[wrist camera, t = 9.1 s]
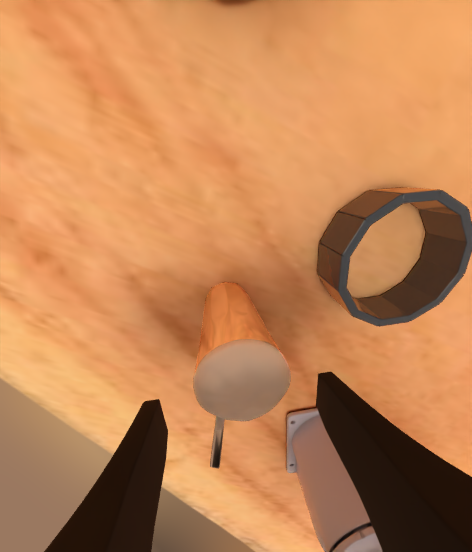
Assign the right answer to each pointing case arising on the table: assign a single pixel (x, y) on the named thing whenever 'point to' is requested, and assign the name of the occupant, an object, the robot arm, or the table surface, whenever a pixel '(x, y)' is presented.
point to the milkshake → (236, 362)
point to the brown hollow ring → (426, 273)
